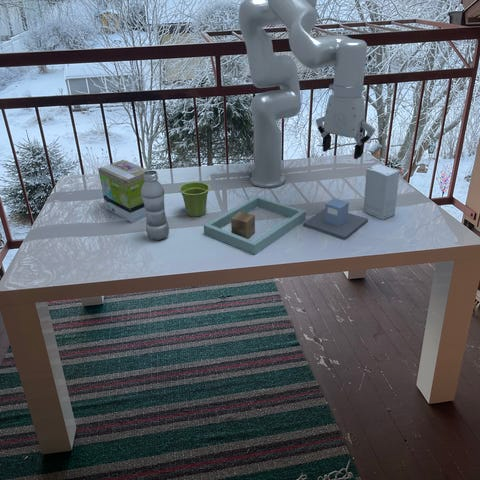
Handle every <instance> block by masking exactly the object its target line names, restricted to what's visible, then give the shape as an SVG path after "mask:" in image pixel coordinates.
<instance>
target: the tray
mask: <svg viewBox="0 0 480 480" xmlns="http://www.w3.org/2000/svg"><path fill="white" fill-rule="evenodd" d="M258 207H259V208H260V209H264V210H266V211H267V210H268V211H271V212H273V213H276V214H279V215H282V216H286V217H288V219H286V220H284V221H283V222H282V223H280V224H279V225H277V226H275V227H274V228H272V229H271V230H269V231H268V232H265V234H263V235H262V236H260V237H259V238H256V240H253V241H252V240H251V239H246V238H243V237H241V236H238V235H236V234H233V233H232V231H231V232H230V231H228V230H224V229H223V227H225V226H226V225H229V224H231V218H232V217H234V216H235V215H236V214H237V213H238V212H244V213H250V212H251V211H252V210H255V209H256V208H258ZM306 219H307V211H306V210H303V209H300V208H297V207H295V206H292V205H291V206H290V205H288V204H285V203H281V202H280V201H279V202H278V201H276V200H272V199H268V198H265V197H262V196H259V195H255V196H254V197H251V198H250V199H249V200H247V201H245V202H243V203H241V204H240V205H237V206H236V207H234V208H232V209H230V210H229V211H227V212H225V213H223V214H221V215H219V216H217V217H216V218H214V219H212V220H210V221H209V222H206V223H204V224H203V234H204V235H206V236H208V237H211V238H213V239H215V240H218V241H219V242H220V241H221V242H223V243H225V244H227V245H230V246H233V247H235V248H238V249H240V250H242V251H244V252H247V253H249V254H252V255H256V254H258V253H260V252H261V251H263V250H264V249H265V248H267V247H268V246H270V245H271V244H272V243H274V242H276V241H277V240H278V239H279V238H281V237H283V236H284V235H286V234H287V233H288V232H290V231H292V230H293V229H294V228H296V227H297V226H299V225H300V224H302V223H304V222H306V221H307V220H306Z"/></svg>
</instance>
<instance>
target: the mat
mask: <svg viewBox="0 0 480 480" xmlns="http://www.w3.org/2000/svg"><path fill="white" fill-rule="evenodd" d="M324 216H325V208H324V209H322V210H321V211H319V212H317V213H315V215H313V216H312V217H310V218H309V219H307V220H305V221H303V222H302V223H303V227H305V228H308V229H311V230H314V231H317V232H319V233H320V232H321V233H323V234H326V235H328V236H331V237H335V238H337V239H340V240H343V241H346V240H347V239H349V238H350V237H351V236H352V235H354V233H356V232H357V231H358V230H359V229H361V228H362V227H363V226H365V225H366V224H367V223H368V222H369V221H368V220H369V219H368V217H363V216H360V215H356V214H354V213H350V212H348V217H347V221H345V222H344V223H343V224H342V225H340V226H336V225H333V224H330V223H327V222H324Z"/></svg>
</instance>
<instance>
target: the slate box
mask: <svg viewBox="0 0 480 480" xmlns="http://www.w3.org/2000/svg"><path fill="white" fill-rule="evenodd" d="M349 204H350V202H349V201H346V200H344V199H343V200H342V199H339V198H336V197H333V198H332V199H330V200H329V201H327V202H325V204H324V209H325V216H324V222H327V223H330V224H333V225H336V226H340V225H342V224H343V223H344V222H345V221H347V217H348V213H349Z"/></svg>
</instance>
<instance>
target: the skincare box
mask: <svg viewBox="0 0 480 480" xmlns="http://www.w3.org/2000/svg"><path fill="white" fill-rule="evenodd" d="M399 179H400V170H398V169H395V168H392V167H389V166H387V165H384V164H380V163H377V164H375V165H372V166H370V167H367V168H366V174H365V186H364V187H365V188H364V196H363V197H364V199H363V201H364V202H363V210H362V211H363V212H364V213H367V214H368V215H371V216H373V217H375V218H377V219H379V220H382V221H383V220H385V219H388V218H392V217H394V216H395V214H396V208H397V207H396V206H397V198H398V196H397V195H398V190H399V189H398V186H399Z"/></svg>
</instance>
